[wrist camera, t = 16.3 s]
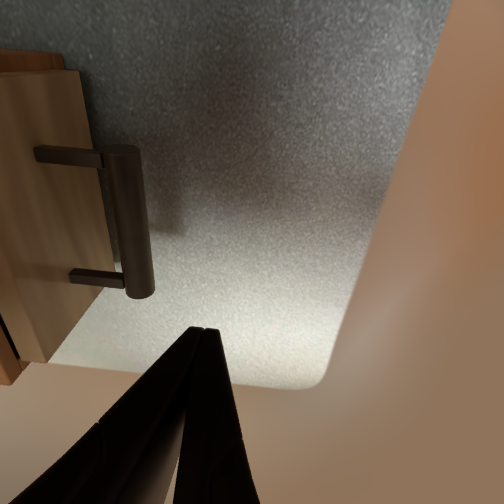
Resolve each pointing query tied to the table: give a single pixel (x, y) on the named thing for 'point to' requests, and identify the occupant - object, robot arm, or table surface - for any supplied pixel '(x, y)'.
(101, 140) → the table surface
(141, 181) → the drawer
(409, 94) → the table surface
